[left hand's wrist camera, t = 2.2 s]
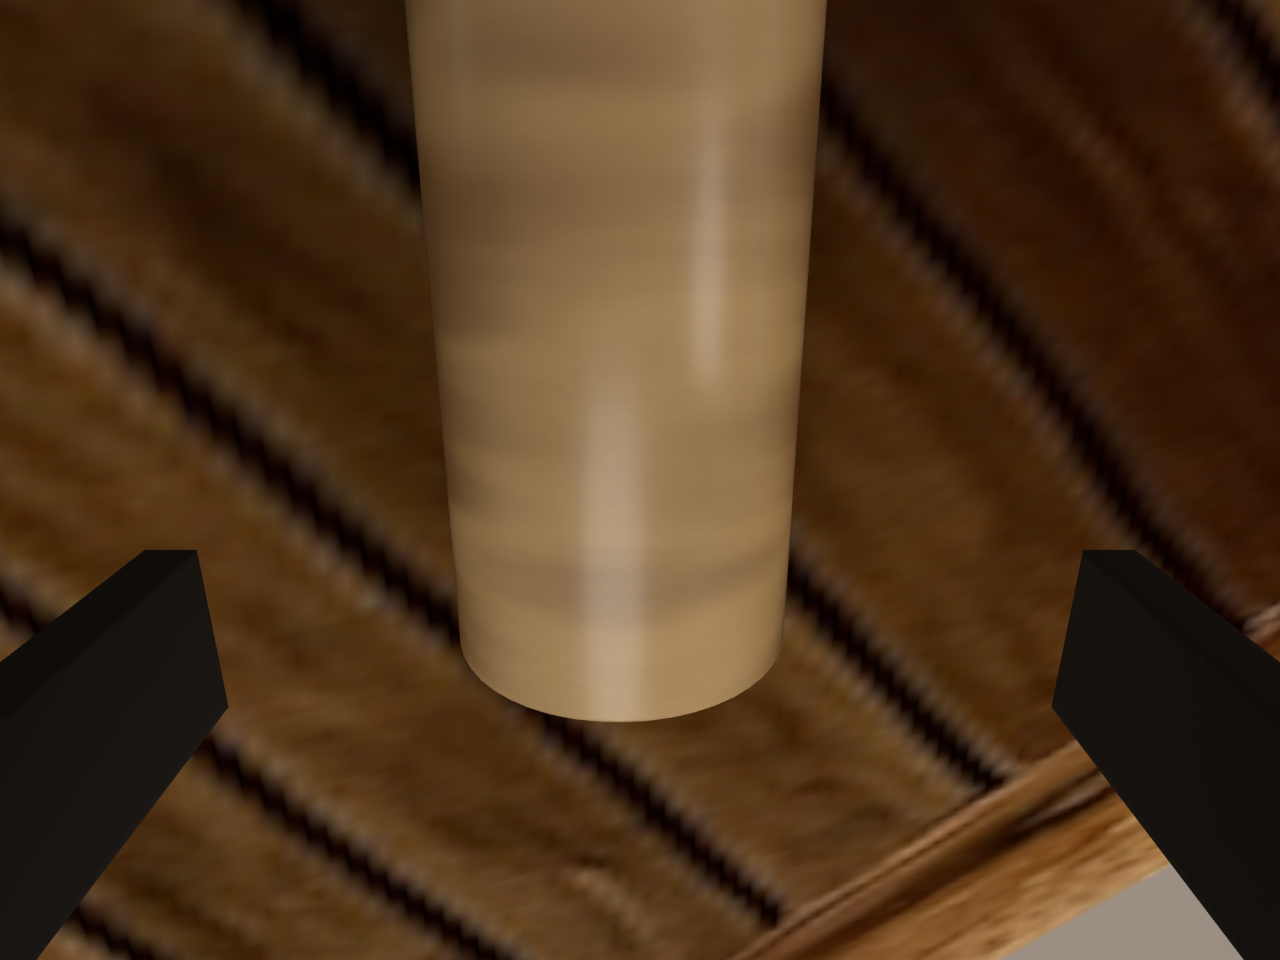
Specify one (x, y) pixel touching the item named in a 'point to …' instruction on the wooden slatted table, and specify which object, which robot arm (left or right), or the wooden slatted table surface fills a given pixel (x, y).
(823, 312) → the wooden slatted table surface
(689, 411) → the tan wooden cylinder
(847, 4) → the wooden slatted table surface
